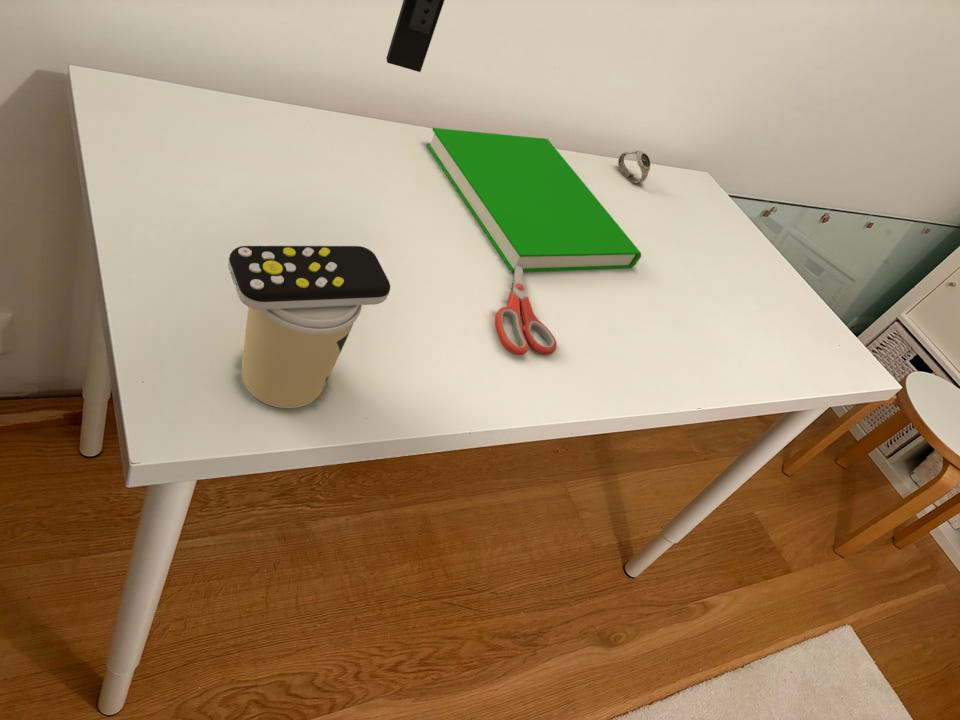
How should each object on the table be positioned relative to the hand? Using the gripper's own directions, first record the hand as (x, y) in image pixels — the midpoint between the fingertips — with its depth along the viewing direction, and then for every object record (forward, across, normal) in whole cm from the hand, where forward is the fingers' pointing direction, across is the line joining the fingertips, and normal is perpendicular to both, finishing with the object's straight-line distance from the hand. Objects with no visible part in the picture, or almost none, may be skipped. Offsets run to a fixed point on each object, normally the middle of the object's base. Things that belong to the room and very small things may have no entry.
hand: (394, 27), depth 61 cm
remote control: (+17, -15, +4) cm, 23 cm away
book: (+29, +24, -32) cm, 49 cm away
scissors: (+29, +2, -24) cm, 37 cm away
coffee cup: (+29, -15, +4) cm, 33 cm away
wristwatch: (+29, +41, -56) cm, 75 cm away
